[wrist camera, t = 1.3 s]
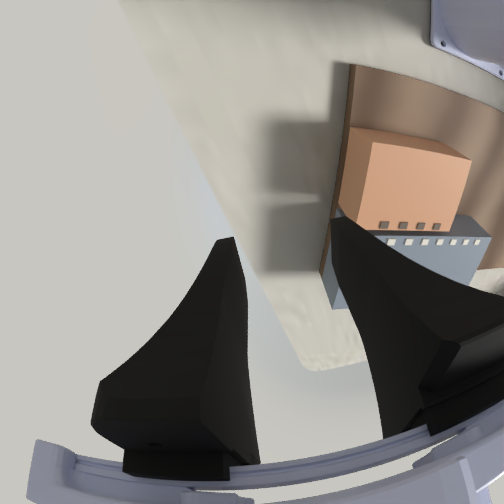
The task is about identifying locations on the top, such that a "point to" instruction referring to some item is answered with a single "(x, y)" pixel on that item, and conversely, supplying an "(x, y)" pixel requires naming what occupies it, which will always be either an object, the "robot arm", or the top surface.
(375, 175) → the tan rectangular block
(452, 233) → the block
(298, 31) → the top surface
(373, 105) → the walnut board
